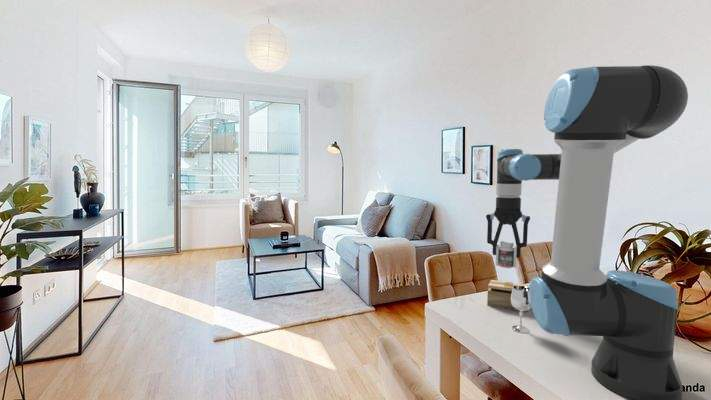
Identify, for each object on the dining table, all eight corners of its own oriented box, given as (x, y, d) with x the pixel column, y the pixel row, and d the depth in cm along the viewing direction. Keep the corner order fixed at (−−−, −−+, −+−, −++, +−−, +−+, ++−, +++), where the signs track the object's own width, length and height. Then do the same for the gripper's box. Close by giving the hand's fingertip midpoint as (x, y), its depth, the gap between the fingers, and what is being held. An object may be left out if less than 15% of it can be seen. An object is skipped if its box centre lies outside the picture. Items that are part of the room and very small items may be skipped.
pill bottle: (498, 267, 116) (499, 243, 115) (497, 263, 121) (498, 240, 120) (514, 269, 115) (515, 243, 114) (512, 264, 119) (513, 240, 118)
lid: (528, 293, 111) (528, 290, 111) (487, 287, 116) (487, 285, 116) (528, 286, 120) (528, 284, 120) (491, 281, 125) (491, 279, 125)
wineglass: (505, 328, 100) (507, 288, 99) (515, 322, 104) (516, 283, 102) (526, 336, 96) (527, 293, 94) (535, 329, 99) (537, 288, 98)
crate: (527, 311, 111) (528, 296, 111) (487, 305, 117) (487, 290, 116) (527, 301, 120) (528, 286, 120) (490, 295, 126) (491, 281, 125)
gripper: (538, 196, 115) (535, 266, 117) (481, 194, 123) (479, 259, 125) (539, 198, 108) (535, 272, 110) (478, 196, 116) (476, 265, 118)
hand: (505, 265), depth 118 cm, fingers closed on pill bottle, 5 cm apart
